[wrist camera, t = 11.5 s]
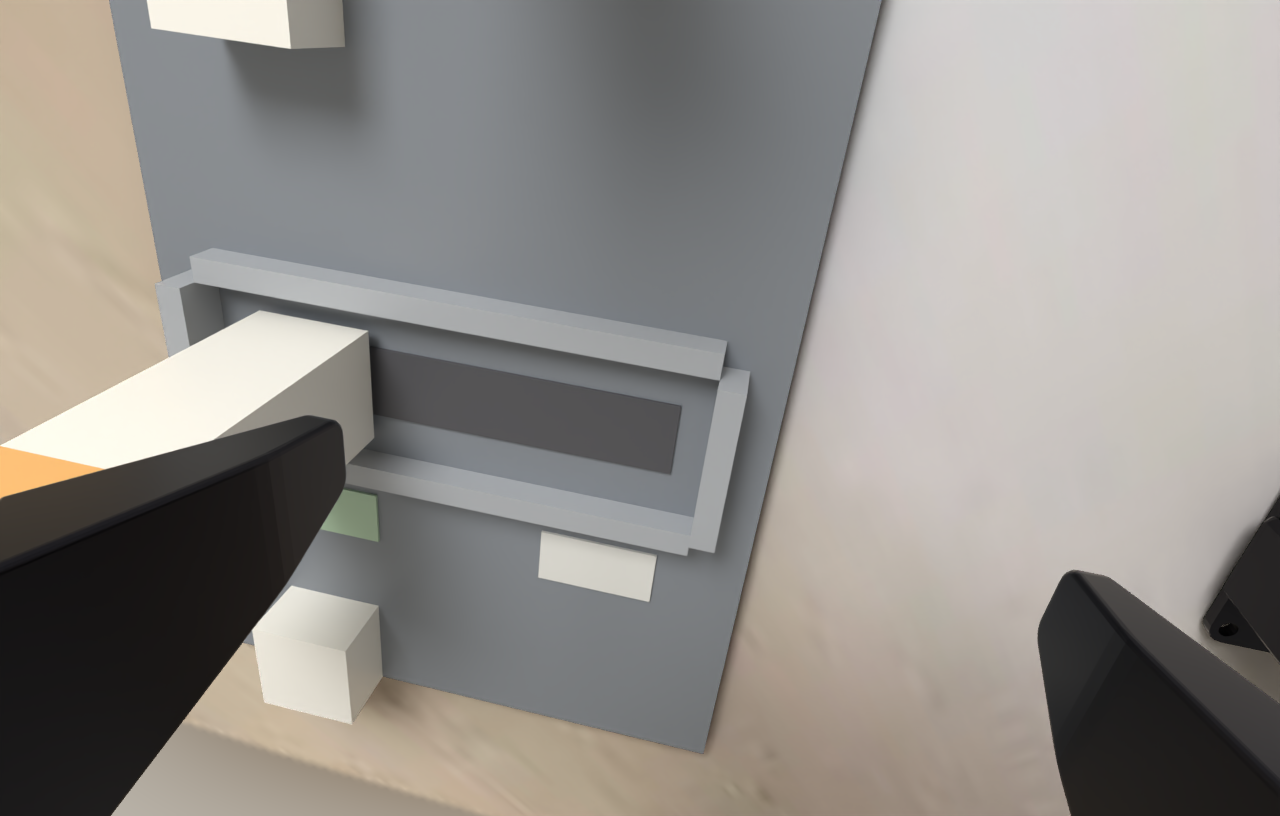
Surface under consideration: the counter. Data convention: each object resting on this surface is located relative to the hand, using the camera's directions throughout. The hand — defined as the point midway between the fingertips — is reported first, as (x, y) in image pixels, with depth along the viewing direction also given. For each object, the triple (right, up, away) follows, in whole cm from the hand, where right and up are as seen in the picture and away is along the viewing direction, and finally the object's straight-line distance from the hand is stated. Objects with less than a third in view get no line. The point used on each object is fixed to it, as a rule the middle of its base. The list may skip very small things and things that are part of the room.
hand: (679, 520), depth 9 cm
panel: (-6, +2, +15) cm, 16 cm away
